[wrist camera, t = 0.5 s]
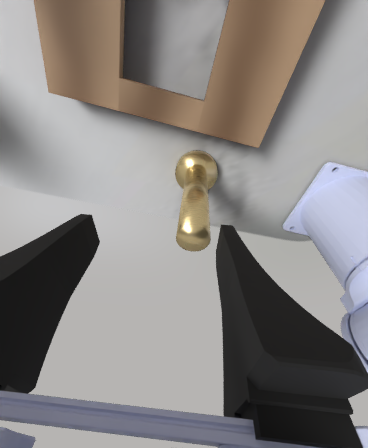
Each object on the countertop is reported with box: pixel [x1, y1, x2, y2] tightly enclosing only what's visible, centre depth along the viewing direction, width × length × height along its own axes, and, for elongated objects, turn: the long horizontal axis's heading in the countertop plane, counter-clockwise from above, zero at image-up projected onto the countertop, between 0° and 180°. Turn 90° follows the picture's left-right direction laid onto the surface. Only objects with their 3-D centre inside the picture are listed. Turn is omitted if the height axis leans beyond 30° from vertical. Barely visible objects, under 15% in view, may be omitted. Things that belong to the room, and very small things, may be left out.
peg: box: [175, 150, 218, 251], centre depth 16 cm, size 4×4×10 cm
